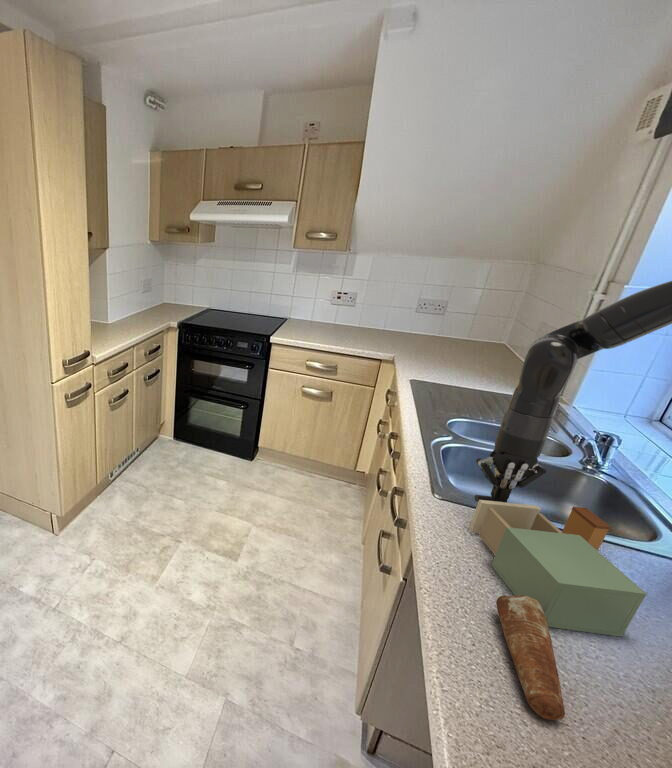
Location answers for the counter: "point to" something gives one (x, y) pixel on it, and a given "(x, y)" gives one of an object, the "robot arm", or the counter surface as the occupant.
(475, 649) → the counter surface
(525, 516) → the drawer
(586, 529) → the brown block
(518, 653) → the bread
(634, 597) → the cabinet
